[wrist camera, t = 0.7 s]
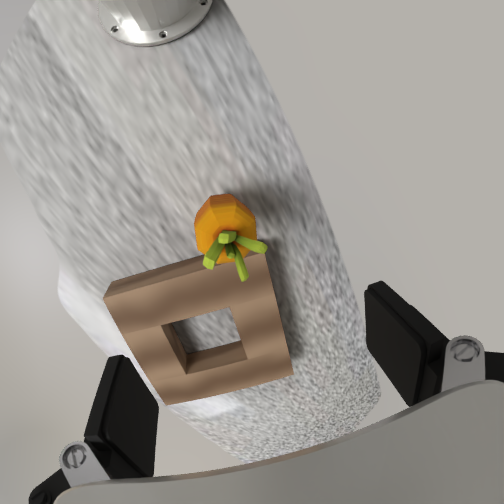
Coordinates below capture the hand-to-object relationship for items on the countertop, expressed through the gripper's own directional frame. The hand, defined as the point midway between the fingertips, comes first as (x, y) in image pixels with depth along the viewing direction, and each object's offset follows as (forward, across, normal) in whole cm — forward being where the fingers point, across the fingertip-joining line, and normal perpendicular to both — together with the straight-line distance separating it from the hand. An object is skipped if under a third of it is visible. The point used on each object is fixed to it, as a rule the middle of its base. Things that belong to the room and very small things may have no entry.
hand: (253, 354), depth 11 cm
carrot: (+24, 0, -1) cm, 24 cm away
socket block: (+24, +6, +13) cm, 28 cm away
